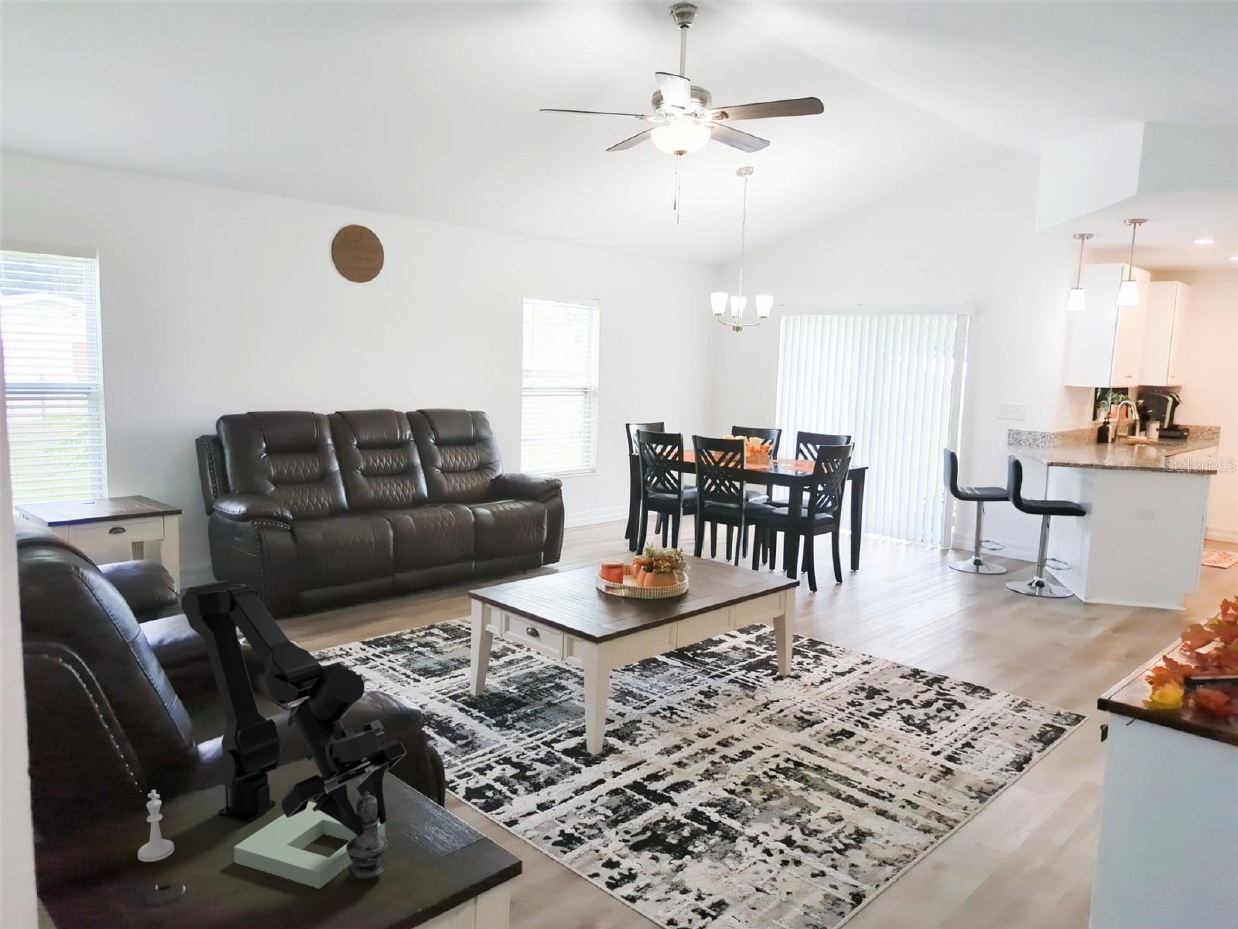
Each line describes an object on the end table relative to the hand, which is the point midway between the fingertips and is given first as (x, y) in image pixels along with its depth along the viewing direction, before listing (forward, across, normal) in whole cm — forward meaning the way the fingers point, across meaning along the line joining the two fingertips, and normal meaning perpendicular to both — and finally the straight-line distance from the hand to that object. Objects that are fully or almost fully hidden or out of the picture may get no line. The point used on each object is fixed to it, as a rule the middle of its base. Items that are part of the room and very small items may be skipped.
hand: (373, 828), depth 123 cm
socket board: (-4, 0, +16) cm, 16 cm away
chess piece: (-16, -15, +28) cm, 36 cm away
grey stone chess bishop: (+4, 0, +6) cm, 7 cm away
